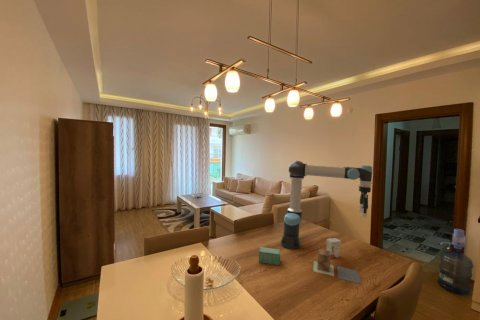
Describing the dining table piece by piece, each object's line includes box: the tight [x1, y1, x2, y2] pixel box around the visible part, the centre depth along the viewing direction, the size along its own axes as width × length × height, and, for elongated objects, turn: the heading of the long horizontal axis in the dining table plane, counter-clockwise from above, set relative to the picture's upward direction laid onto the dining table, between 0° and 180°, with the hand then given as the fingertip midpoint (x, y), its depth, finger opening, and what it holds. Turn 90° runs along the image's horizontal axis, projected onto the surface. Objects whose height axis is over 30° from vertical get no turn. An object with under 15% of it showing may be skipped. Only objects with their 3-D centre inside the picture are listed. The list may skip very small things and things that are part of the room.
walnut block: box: [317, 248, 332, 272], centre depth 133 cm, size 7×7×10 cm
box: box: [258, 246, 281, 266], centre depth 138 cm, size 7×14×8 cm, turn 79°
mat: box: [336, 266, 362, 285], centre depth 127 cm, size 12×14×1 cm
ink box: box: [325, 237, 342, 259], centre depth 149 cm, size 9×5×12 cm, turn 108°
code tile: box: [312, 260, 335, 277], centre depth 133 cm, size 12×13×1 cm
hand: (362, 214), depth 157 cm, fingers open, 13 cm apart
